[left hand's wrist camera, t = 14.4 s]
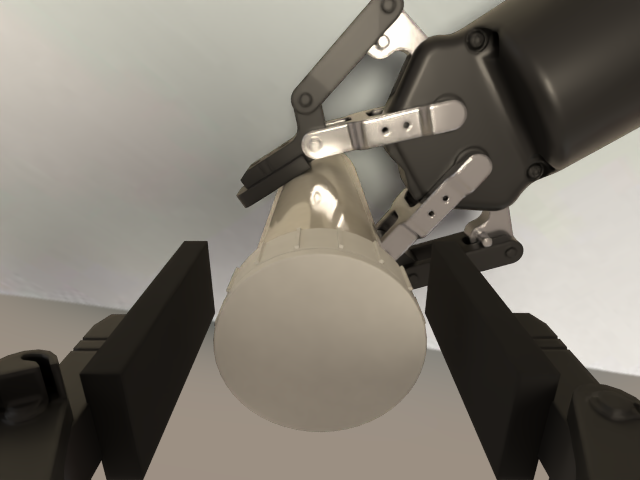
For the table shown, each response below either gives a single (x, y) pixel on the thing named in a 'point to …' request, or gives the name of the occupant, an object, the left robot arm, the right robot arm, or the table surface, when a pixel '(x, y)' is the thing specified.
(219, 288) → the table surface
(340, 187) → the beige bottle
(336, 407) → the lid
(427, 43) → the right robot arm
